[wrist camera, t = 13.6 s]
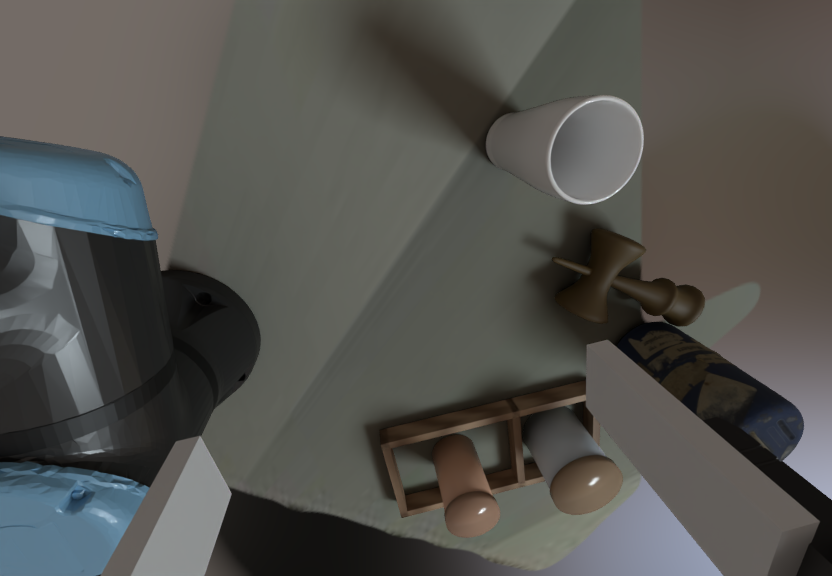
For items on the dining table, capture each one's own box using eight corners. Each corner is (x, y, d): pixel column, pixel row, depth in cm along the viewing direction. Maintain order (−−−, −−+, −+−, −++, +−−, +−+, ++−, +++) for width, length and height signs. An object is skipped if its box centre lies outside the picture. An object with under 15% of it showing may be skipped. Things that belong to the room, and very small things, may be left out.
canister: (664, 303, 49) (820, 395, 32) (681, 354, 53) (829, 459, 36) (596, 342, 50) (716, 451, 33) (619, 390, 53) (735, 508, 37)
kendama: (647, 329, 51) (520, 288, 45) (688, 263, 48) (558, 210, 42) (684, 353, 45) (545, 310, 39) (733, 280, 42) (591, 222, 37)
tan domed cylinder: (434, 473, 55) (450, 543, 45) (427, 440, 52) (442, 507, 43) (477, 462, 55) (502, 529, 46) (473, 428, 52) (497, 493, 43)
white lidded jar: (522, 457, 56) (554, 522, 47) (518, 411, 52) (552, 472, 43) (578, 442, 56) (621, 504, 47) (578, 397, 53) (624, 454, 44)
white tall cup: (542, 171, 40) (641, 196, 26) (479, 182, 39) (545, 214, 26) (542, 99, 37) (651, 85, 23) (473, 110, 36) (545, 102, 23)
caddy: (399, 501, 56) (401, 518, 53) (379, 430, 50) (380, 444, 48) (588, 453, 58) (598, 467, 55) (590, 378, 52) (601, 390, 50)
